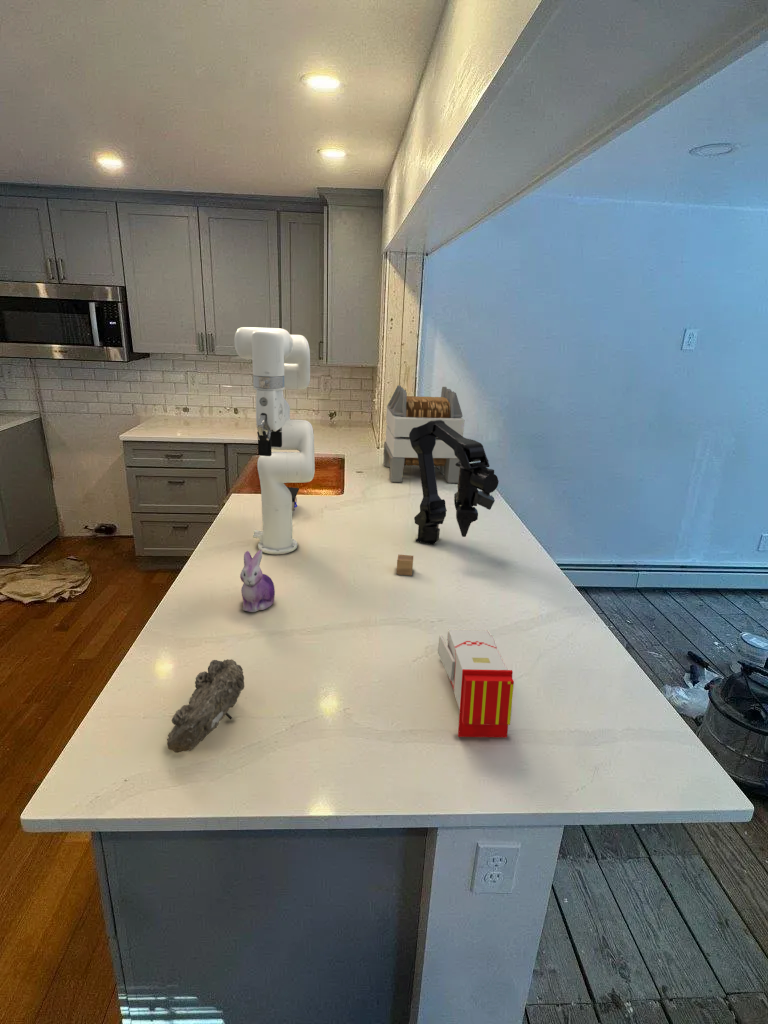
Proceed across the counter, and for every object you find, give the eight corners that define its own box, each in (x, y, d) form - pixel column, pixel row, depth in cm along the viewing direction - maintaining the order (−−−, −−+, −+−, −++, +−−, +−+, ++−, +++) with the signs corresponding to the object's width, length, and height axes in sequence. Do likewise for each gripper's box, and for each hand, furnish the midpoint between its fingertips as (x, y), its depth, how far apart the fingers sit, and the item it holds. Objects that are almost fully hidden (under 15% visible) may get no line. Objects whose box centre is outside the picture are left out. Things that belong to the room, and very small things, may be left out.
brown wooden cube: (411, 575, 169) (412, 561, 167) (396, 574, 169) (397, 560, 168) (412, 569, 173) (413, 555, 171) (397, 568, 173) (398, 554, 172)
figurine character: (295, 520, 211) (299, 503, 225) (294, 502, 208) (299, 485, 221) (277, 519, 211) (282, 502, 224) (276, 501, 208) (282, 485, 221)
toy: (488, 613, 130) (523, 677, 101) (484, 667, 133) (517, 744, 104) (435, 612, 130) (455, 676, 101) (432, 666, 133) (451, 743, 103)
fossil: (192, 660, 117) (244, 628, 112) (224, 691, 120) (276, 661, 115) (142, 746, 98) (202, 712, 93) (182, 779, 101) (242, 748, 96)
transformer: (382, 463, 289) (386, 382, 275) (445, 464, 293) (451, 384, 279) (390, 482, 257) (394, 392, 243) (460, 483, 261) (468, 394, 247)
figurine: (245, 617, 142) (242, 562, 137) (235, 598, 151) (232, 547, 146) (281, 609, 147) (280, 556, 142) (270, 592, 155) (268, 541, 150)
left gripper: (274, 388, 130) (275, 460, 136) (292, 379, 147) (293, 444, 152) (242, 386, 131) (245, 458, 137) (264, 378, 147) (266, 442, 153)
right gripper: (497, 494, 163) (492, 544, 168) (491, 476, 181) (486, 522, 186) (459, 492, 164) (454, 542, 169) (456, 474, 181) (451, 520, 186)
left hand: (270, 451), depth 145 cm, fingers open, 9 cm apart
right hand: (463, 531), depth 178 cm, fingers open, 9 cm apart
